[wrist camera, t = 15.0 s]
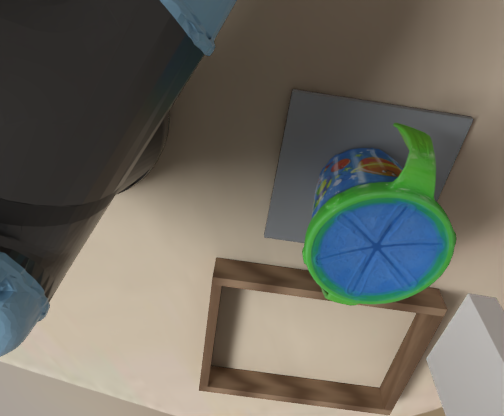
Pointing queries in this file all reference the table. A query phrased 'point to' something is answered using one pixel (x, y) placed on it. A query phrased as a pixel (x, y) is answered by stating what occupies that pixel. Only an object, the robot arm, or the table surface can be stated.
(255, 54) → the table surface
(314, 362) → the table surface
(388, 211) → the snack cup
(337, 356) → the table surface
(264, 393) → the wooden frame
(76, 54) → the robot arm
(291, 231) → the slate mat
